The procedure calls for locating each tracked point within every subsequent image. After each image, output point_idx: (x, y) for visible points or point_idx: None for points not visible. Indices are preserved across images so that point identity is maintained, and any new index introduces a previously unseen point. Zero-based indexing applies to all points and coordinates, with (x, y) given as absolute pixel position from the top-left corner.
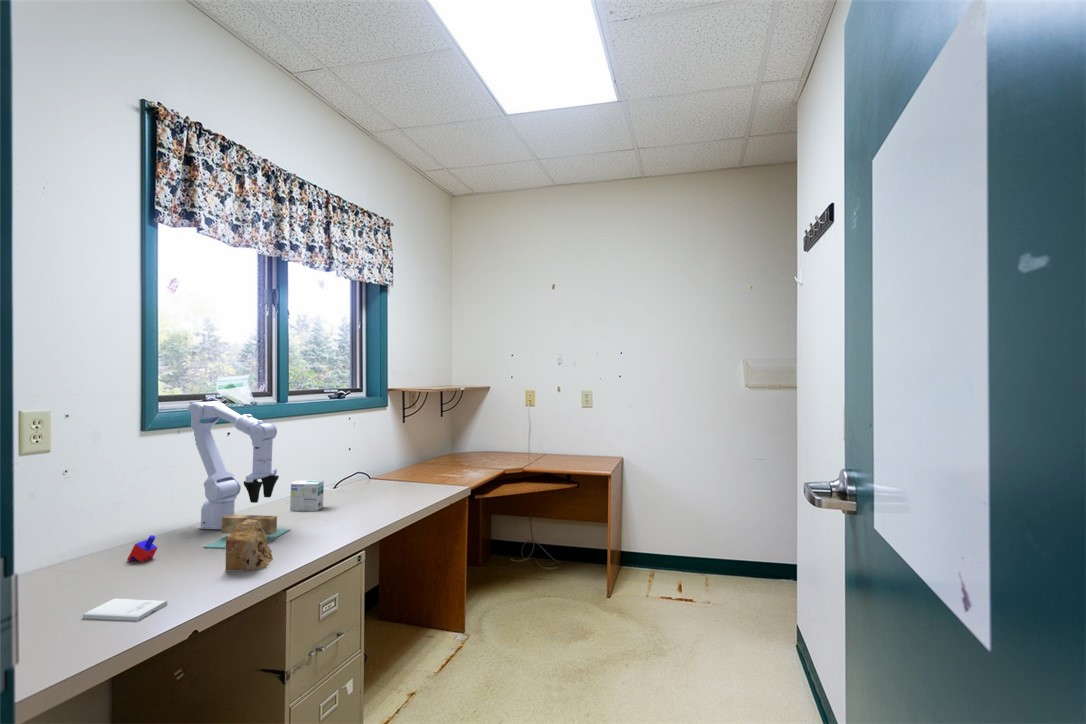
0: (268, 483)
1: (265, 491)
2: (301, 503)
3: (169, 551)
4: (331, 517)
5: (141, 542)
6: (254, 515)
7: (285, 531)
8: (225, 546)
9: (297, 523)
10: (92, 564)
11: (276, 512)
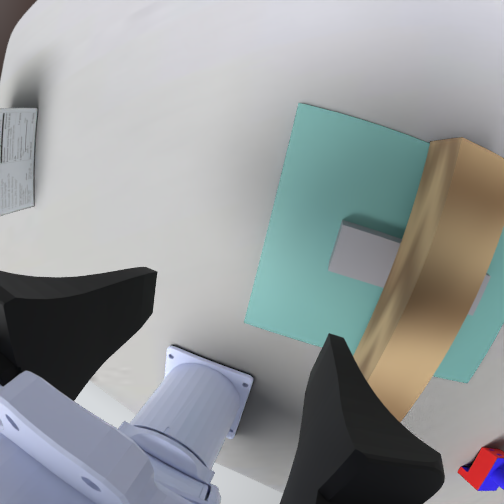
0: (75, 343)
1: (125, 327)
2: (13, 169)
3: (450, 440)
4: (114, 13)
5: (489, 488)
6: (415, 292)
7: (339, 114)
8: (498, 319)
9: (178, 106)
10: (459, 498)
11: (48, 247)
